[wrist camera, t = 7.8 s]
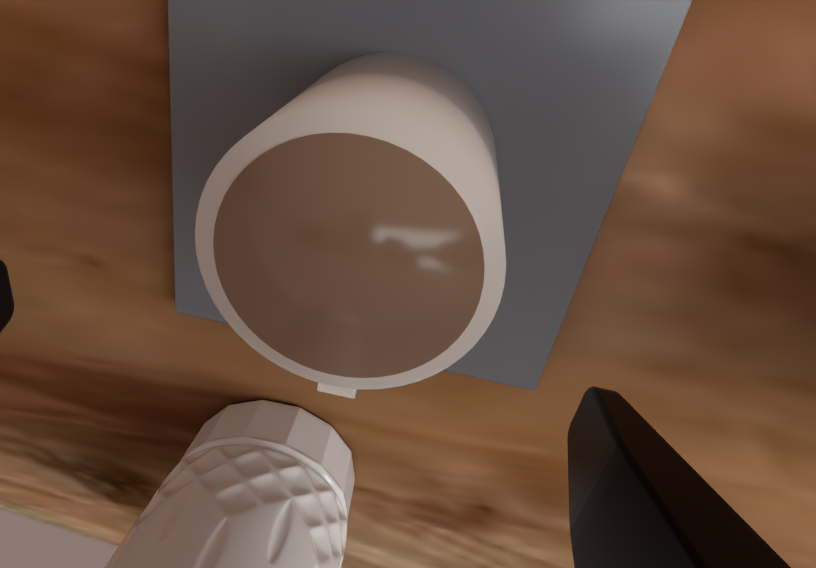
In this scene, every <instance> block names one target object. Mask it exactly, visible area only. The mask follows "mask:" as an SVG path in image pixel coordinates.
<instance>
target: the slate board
mask: <svg viewBox="0 0 816 568" xmlns="http://www.w3.org/2000/svg"><path fill="white" fill-rule="evenodd" d="M691 2H692V0H168V31H169V71H170V111H171V151H172V190H173V230H174V270H175V310H176V312H177V313H182V314H187V315H191V316H196V317H200V318H205V319H210V320H214V321H219V322H223V323H227V321H226V320H225V319H224V317H223V316H222V314H221V313H220V311H219V310H218V308H217V307H216V305H215V304H214V302H213V300H212V298H211V296H210V294H209V292H208V290H207V288H206V286H205V283H204V280H203V277H202V274H201V272H200V268H199V263H198V259H197V254H196V243H195V225H196V215H197V210H198V206H199V201H200V197H201V195H202V192H203V190H204V187H205V185H206V182H207V180H208V179H209V177H210V175H211V173H212V172H213V170H214V168H215V167H216V165H217V164H218V163H219V161H220V160H221V159H222V158H223V157H224V155H225V154H226V153H227V152H228V151H229V150H230V149H231V148H232V147H233V146H234V145H235V144H236V143H238V142H239V141H240V140H241V139H242V138H243V137H244V136H246V135H247V134H248V133H250V132H251V131H252V130H254V129H255V128H256V127H257V126H259V125H260V124H261V123H263V122H264V121H265V120H267V119H268V118H269V117H270V116H272V115H273V114H274V113H276V112H277V111H278V110H280V109H281V108H282V107H283V106H285V105H286V104H287V103H289V102H290V101H291V100H293V99H294V98H295V97H296V96H298V95H299V94H300V93H302V92H303V91H304V90H306V89H307V88H308V87H309V86H311V85H312V84H313V83H315V82H316V81H317V80H319V79H320V78H321V77H322V76H324V75H325V74H326V73H328V72H329V71H331V70H332V69H334V68H335V67H337V66H338V65H340V64H342V63H344V62H346V61H349V60H351V59H353V58H356V57H360V56H363V55H367V54H373V53H381V52H397V53H404V54H410V55H414V56H418V57H421V58H424V59H427V60H429V61H431V62H434V63H436V64H438V65H440V66H442V67H443V68H445V69H446V70H448V71H450V72H451V73H452V74H454V75H455V76H456V77H457V78H458V79H460V80H461V81H462V82H463V83H464V84H465V85H466V86H467V87H468V88H469V89H470V90H471V92H472V93H473V94H474V95H475V97H476V98H477V100H478V101H479V103H480V104H481V106H482V108H483V110H484V112H485V113H486V115H487V117H488V120H489V123H490V126H491V129H492V132H493V137H494V141H495V148H496V158H497V168H498V179H499V189H500V199H501V209H502V220H503V230H504V240H505V253H506V275H505V285H504V289H503V293H502V297H501V301H500V304H499V306H498V309H497V311H496V313H495V316H494V318H493V320H492V322H491V323H490V325H489V327H488V328H487V330H486V332H485V333H484V334H483V336H482V337H481V338H480V339H479V341H478V342H477V343H476V344H475V345H474V347H472V348H471V349H470V350H469V351H468V352H467V353H466V354H465V355H464V356H463V357H462V358H460V359H459V360H458V361H456V362H455V363H453V364H452V365H451V366H449V367H448V368H446V369H444V370H443V371H448V372H452V373H457V374H462V375H466V376H471V377H475V378H480V379H484V380H489V381H494V382H498V383H503V384H507V385H512V386H517V387H521V388H526V389H530V390H535V389H536V387H537V384H538V382H539V379H540V377H541V374H542V372H543V370H544V367H545V365H546V362H547V360H548V357H549V355H550V352H551V350H552V347H553V345H554V342H555V340H556V337H557V335H558V332H559V330H560V327H561V325H562V322H563V320H564V317H565V315H566V312H567V310H568V307H569V305H570V302H571V300H572V297H573V295H574V292H575V290H576V287H577V285H578V283H579V280H580V278H581V275H582V273H583V270H584V268H585V265H586V263H587V260H588V258H589V255H590V253H591V250H592V248H593V245H594V243H595V240H596V238H597V235H598V233H599V230H600V228H601V225H602V223H603V220H604V218H605V215H606V213H607V210H608V208H609V205H610V203H611V200H612V198H613V196H614V193H615V191H616V188H617V186H618V183H619V181H620V178H621V176H622V173H623V171H624V168H625V166H626V163H627V161H628V158H629V156H630V153H631V151H632V148H633V146H634V143H635V141H636V138H637V136H638V133H639V131H640V128H641V126H642V123H643V121H644V118H645V116H646V113H647V111H648V109H649V106H650V104H651V101H652V99H653V96H654V94H655V91H656V89H657V86H658V84H659V81H660V79H661V76H662V74H663V71H664V69H665V66H666V64H667V61H668V59H669V56H670V54H671V51H672V49H673V46H674V44H675V41H676V39H677V36H678V34H679V31H680V29H681V26H682V24H683V22H684V19H685V17H686V14H687V12H688V9H689V7H690V4H691Z"/></svg>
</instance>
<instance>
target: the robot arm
mask: <svg viewBox="0 0 816 568" xmlns="http://www.w3.org/2000/svg"><path fill="white" fill-rule="evenodd" d="M13 311H14V301H13V296H12V291H11V286H10V281H9V276H8V271H7V267H6V265H5V264H4V262H3V261H2V260H0V333H1V331H2V330H3V329H4V327H5V326H6V325H7V323H8V322H9V321H10V319H11V317H12V315H13ZM568 479H569V518H570V535H571V543H572V551H573V559H574V566H575V568H791V567H790V566H789V565H788V564H787V563H786V562H785V561H784V560H783V559H782V558H781V557H780V556H779V555H778V554H777V553H776V552H775V551H774V550H773V549H772V548H771V547H770V546H769V545H768V544H767V543H766V542H765V541H764V540H763V539H762V538H761V537H760V536H759V535H758V534H757V533H756V532H755V531H754V530H753V529H752V528H751V527H750V526H749V525H748V524H747V523H746V522H745V521H744V520H743V519H742V518H741V517H740V516H739V515H738V514H737V513H736V512H735V511H734V510H733V509H732V508H731V507H730V506H729V505H728V504H727V503H726V501H725V500H724V499H723V498H722V497H721V496H720V495H719V494H718V493H717V492H716V491H715V490H714V489H713V488H712V487H711V486H710V485H709V484H708V483H707V482H706V481H705V480H704V479H703V478H702V477H701V476H700V475H699V474H698V473H697V472H696V471H695V470H694V469H693V468H692V467H691V466H690V465H689V464H688V463H687V462H686V461H685V460H684V459H683V458H682V457H681V456H680V455H679V454H678V453H677V452H676V451H675V450H674V449H673V448H672V447H671V446H670V445H669V444H668V443H667V442H666V441H665V440H664V439H663V438H662V437H661V436H660V435H659V434H658V433H657V432H656V431H655V430H654V429H653V427H652V426H651V425H650V424H649V423H648V422H647V421H646V420H645V419H644V418H643V417H642V416H641V415H640V414H639V413H638V412H637V411H636V410H635V409H634V408H633V407H632V406H631V405H630V404H629V403H628V402H627V401H626V400H625V399H624V398H623V397H622V396H621V395H620V394H619V393H617V392H615V391H612V390H607V389H603V388H598V387H591V388H589V389H588V390H587V391H586V392H585V394H584V396H583V398H582V400H581V402H580V405H579V407H578V409H577V411H576V413H575V415H574V418H573V420H572V422H571V424H570V427H569V431H568Z"/></svg>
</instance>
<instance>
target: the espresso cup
mask: <svg viewBox="0 0 816 568" xmlns="http://www.w3.org/2000/svg"><path fill="white" fill-rule="evenodd" d="M195 243H196V254H197V259H198V263H199V268H200V272H201V274H202V277H203V280H204V283H205V286H206V288H207V290H208V292H209V294H210V296H211V298H212V300H213V302H214V304H215V305H216V307H217V308H218V310H219V311H220V313H221V314H222V316H223V317H224V319H225V320H226V321H227V323H228V324H229V325H230V326H231V327H232V329H233V330H234V331H235V332H236V333H237V334H238V335H239V336H240V337H241V338H242V339H243V340H244V341H245V342H246V343H247V344H248V345H249V346H251V347H252V348H253V349H254V350H256V351H257V352H258V353H260V354H261V355H262V356H263V357H265V358H267V359H268V360H270V361H271V362H273V363H275V364H276V365H278V366H279V367H281V368H283V369H285V370H287V371H290V372H292V373H294V374H296V375H298V376H301V377H304V378H306V379H309V380H311V381H315V382H318V389H317V391H320V392H325V393H329V394H334V395H339V396H343V397H348V398H352V399H355V396H356V393H357V389H364V390H367V389H385V388H392V387H399V386H403V385H407V384H411V383H414V382H418V381H420V380H423V379H425V378H428V377H431V376H433V375H435V374H437V373H439V372H440V371H442V370H444V369H446V368H448V367H449V366H451V365H452V364H453V363H455V362H456V361H458V360H459V359H460V358H462V357H463V356H464V355H465V354H466V353H467V352H468V351H469V350H470V349H471V348H472V347H474V345H475V344H476V343H477V342H478V341H479V339H480V338H481V337H482V336H483V334H484V333H485V332H486V330H487V328H488V327H489V325H490V323H491V322H492V320H493V318H494V316H495V313H496V311H497V309H498V306H499V304H500V301H501V297H502V293H503V289H504V285H505V275H506V253H505V240H504V230H503V220H502V209H501V199H500V189H499V179H498V168H497V158H496V148H495V141H494V137H493V132H492V129H491V126H490V123H489V120H488V117H487V115H486V113H485V112H484V110H483V108H482V106H481V104H480V103H479V101H478V100H477V98H476V97H475V95H474V94H473V93H472V92H471V90H470V89H469V88H468V87H467V86H466V85H465V84H464V83H463V82H462V81H461V80H460V79H458V78H457V77H456V76H455V75H454V74H452V73H451V72H450V71H448V70H446V69H445V68H443V67H442V66H440V65H438V64H436V63H434V62H431V61H429V60H427V59H424V58H421V57H418V56H414V55H410V54H404V53H397V52H381V53H373V54H367V55H363V56H360V57H356V58H353V59H351V60H349V61H346V62H344V63H342V64H340V65H338V66H337V67H335V68H334V69H332V70H331V71H329V72H328V73H326V74H325V75H324V76H322V77H321V78H320V79H319V80H317V81H316V82H315V83H313V84H312V85H311V86H309V87H308V88H307V89H306V90H304V91H303V92H302V93H300V94H299V95H298V96H296V97H295V98H294V99H293V100H291V101H290V102H289V103H287V104H286V105H285V106H283V107H282V108H281V109H280V110H278V111H277V112H276V113H274V114H273V115H272V116H270V117H269V118H268V119H267V120H265V121H264V122H263V123H261V124H260V125H259V126H257V127H256V128H255V129H254V130H252V131H251V132H250V133H248V134H247V135H246V136H244V137H243V138H242V139H241V140H240V141H239V142H238V143H236V144H235V145H234V146H233V147H232V148H231V149H230V150H229V151H228V152H227V153H226V154H225V155H224V157H223V158H222V159H221V160H220V161H219V163H218V164H217V165H216V167H215V168H214V170H213V172H212V173H211V175H210V177H209V179H208V180H207V182H206V185H205V187H204V190H203V192H202V195H201V197H200V201H199V206H198V210H197V215H196V225H195Z"/></svg>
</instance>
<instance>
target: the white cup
mask: <svg viewBox="0 0 816 568" xmlns="http://www.w3.org/2000/svg"><path fill="white" fill-rule="evenodd" d="M354 481H355V475H354V468H353V461H352V454H351V451H350V449H349V448H348V447H347V445H346V444H345V443H344V441H343V440H342V439H341V437H340V436H339V435H338V434H337V432H336V431H335V430H334V428H333V427H332V426H331V425H329V424H328V423H326V422H324V421H322V420H321V419H319V418H317V417H316V416H314V415H312V414H311V413H309V412H307V411H306V410H304V409H302V408H300V407H296V406H291V405H286V404H282V403H277V402H272V401H267V400H258V401H252V402H245V403H239V404H232V405H228V406H227V407H226V408H224V409H223V410H221V411H220V412H219V413H217V414H216V415H215V416H213V417H212V418H210V419H209V420H208V421H206V422H205V423H204V425H203V426H202V428H201V429H200V431H199V432H198V434H197V436H196V437H195V439H194V440H193V442H192V443H191V445H190V446H189V448H188V449H187V451H186V453H185V454H184V456H183V457H182V459H181V461H180V462H179V464H178V465H177V466H176V467H175V468H174V469H173V470H172V471H171V473H170V474H169V475H168V476H167V478H166V479H165V480H164V481H163V483H162V484H161V485H160V487H159V488H158V490H157V491H156V493H155V495H154V496H153V498H152V499H151V501H150V503H149V504H148V506H147V507H146V508H145V510H144V511H143V512H142V513H141V515H140V516H139V517H138V519H137V520H136V521H135V523H134V524H133V526H132V527H131V529H130V530H129V532H128V533H127V535H126V536H125V538H124V539H123V541H122V542H121V544H120V545H119V547H118V548H117V550H116V551H115V553H114V554H113V556H112V557H111V559H110V560H109V562H108V563H107V565H106V566H105V568H341V566H342V561H343V557H344V552H345V544H346V535H347V518H348V513H349V508H350V503H351V497H352V492H353V487H354Z"/></svg>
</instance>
